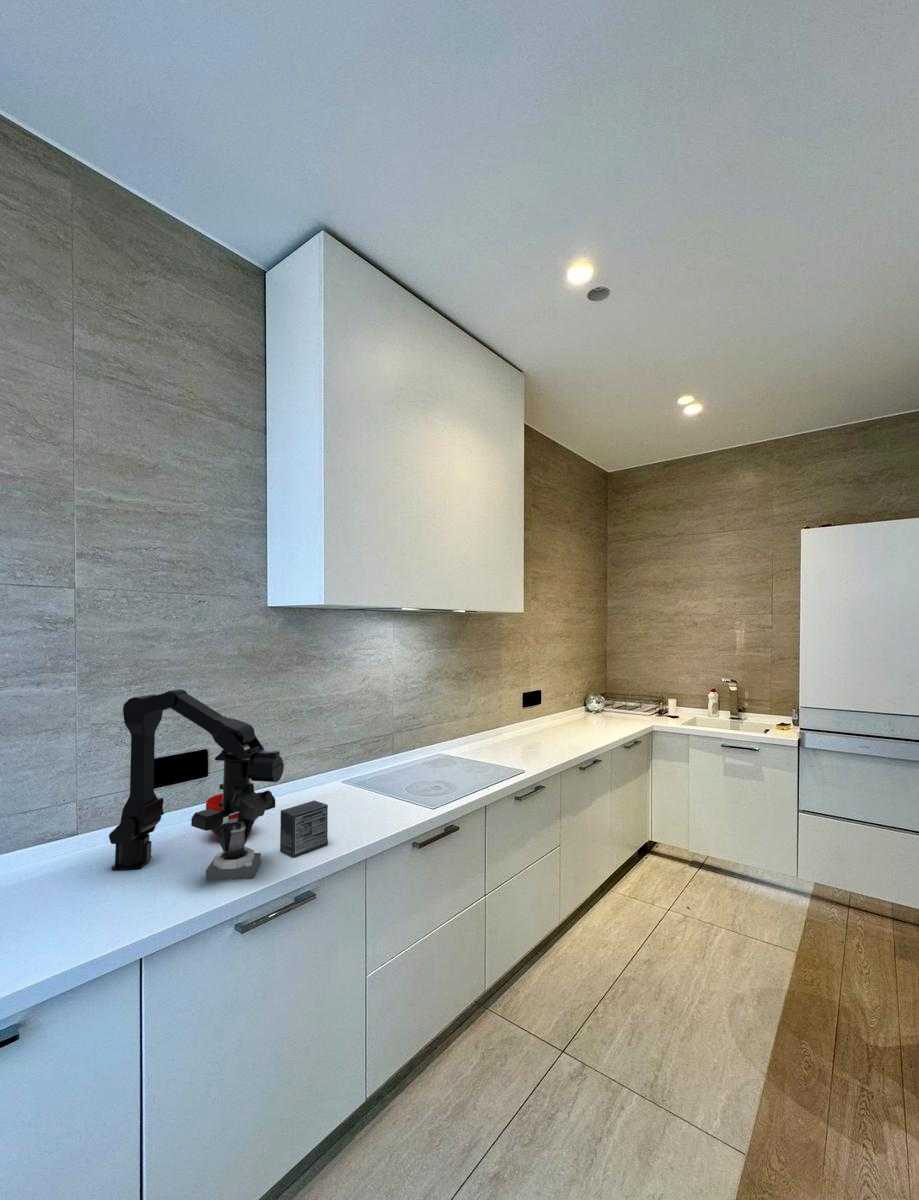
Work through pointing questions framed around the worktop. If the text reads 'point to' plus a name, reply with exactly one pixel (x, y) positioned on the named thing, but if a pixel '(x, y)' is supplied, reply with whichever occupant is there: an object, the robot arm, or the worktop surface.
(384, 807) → the worktop surface
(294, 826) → the small box
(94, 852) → the worktop surface
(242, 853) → the lens
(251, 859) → the camera body mount
